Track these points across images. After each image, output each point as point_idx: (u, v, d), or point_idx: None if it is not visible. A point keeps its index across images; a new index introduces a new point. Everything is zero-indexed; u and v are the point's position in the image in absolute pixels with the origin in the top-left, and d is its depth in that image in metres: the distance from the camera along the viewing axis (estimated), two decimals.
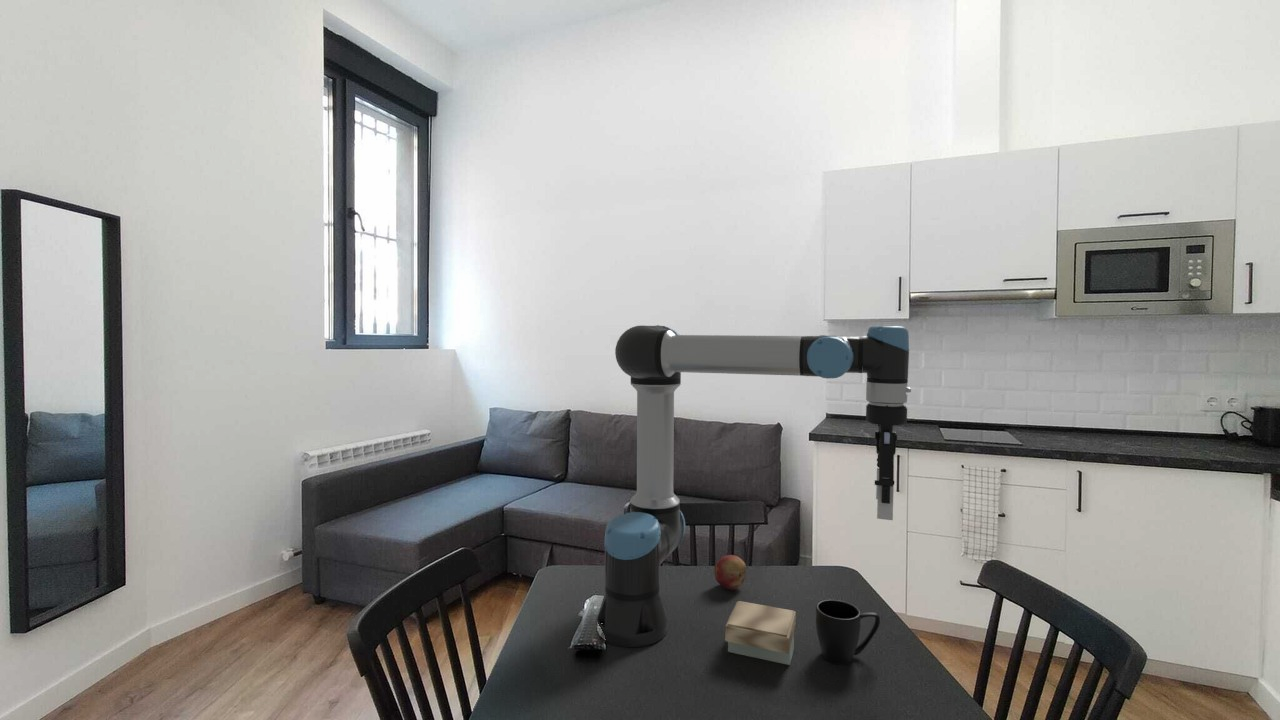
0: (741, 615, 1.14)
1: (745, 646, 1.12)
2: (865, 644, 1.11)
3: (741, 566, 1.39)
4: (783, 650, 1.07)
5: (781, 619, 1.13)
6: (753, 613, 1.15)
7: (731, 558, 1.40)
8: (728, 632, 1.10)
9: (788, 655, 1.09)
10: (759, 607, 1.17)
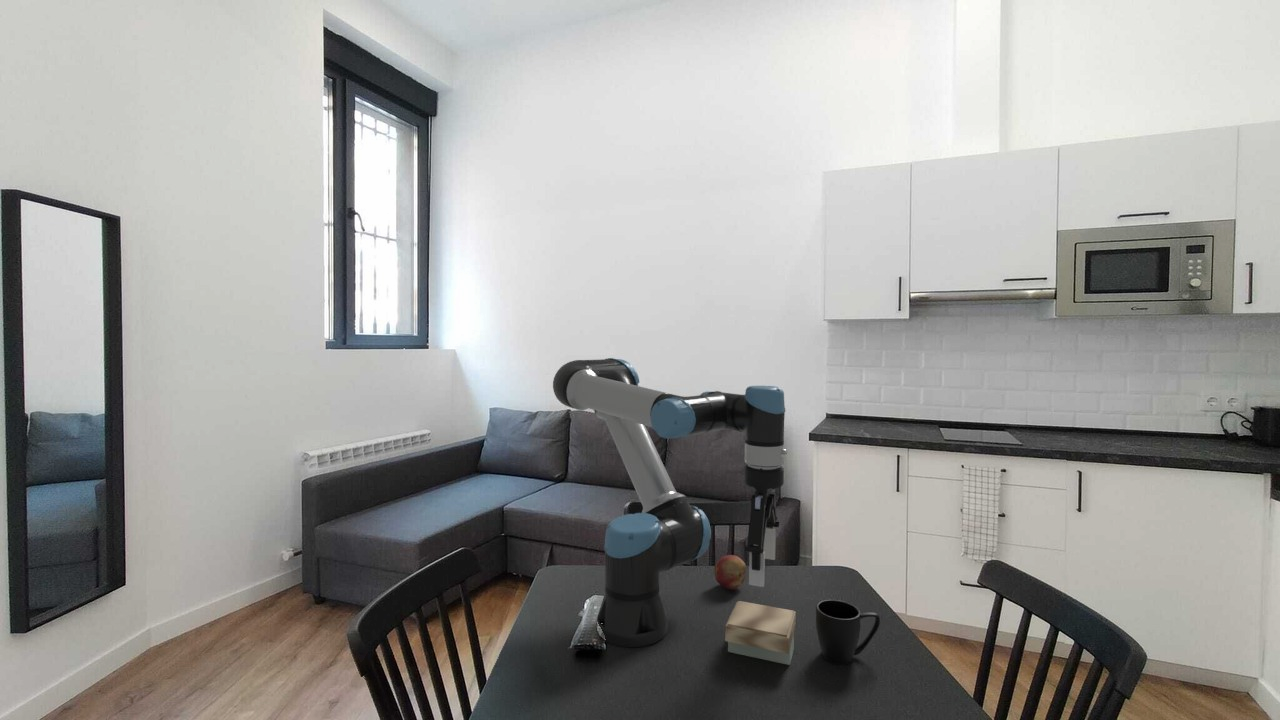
0: (741, 615, 1.14)
1: (745, 646, 1.12)
2: (865, 644, 1.11)
3: (741, 566, 1.39)
4: (783, 650, 1.07)
5: (781, 619, 1.13)
6: (753, 613, 1.15)
7: (731, 558, 1.40)
8: (728, 632, 1.10)
9: (788, 655, 1.09)
10: (759, 607, 1.17)
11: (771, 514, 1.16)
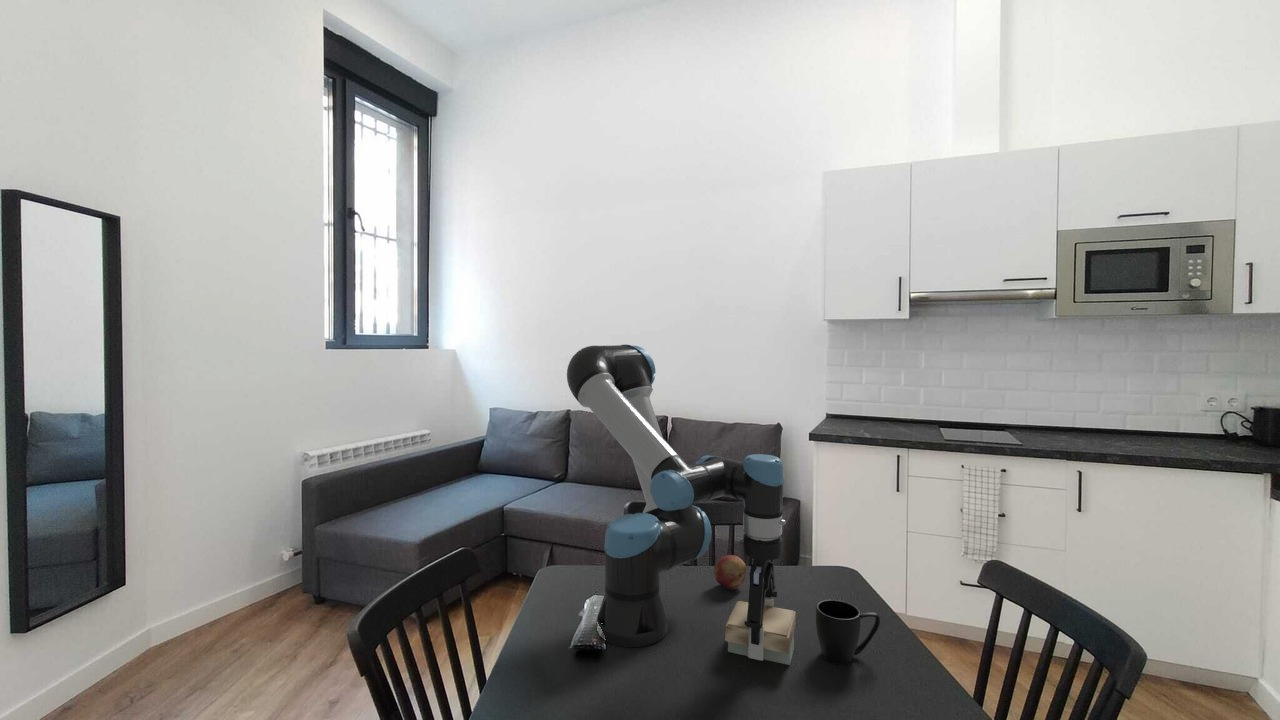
0: (741, 615, 1.14)
1: (745, 646, 1.12)
2: (865, 644, 1.11)
3: (741, 566, 1.39)
4: (783, 650, 1.07)
5: (781, 619, 1.13)
6: None
7: (731, 558, 1.40)
8: (728, 632, 1.10)
9: (788, 655, 1.09)
10: None
11: (769, 583, 1.17)
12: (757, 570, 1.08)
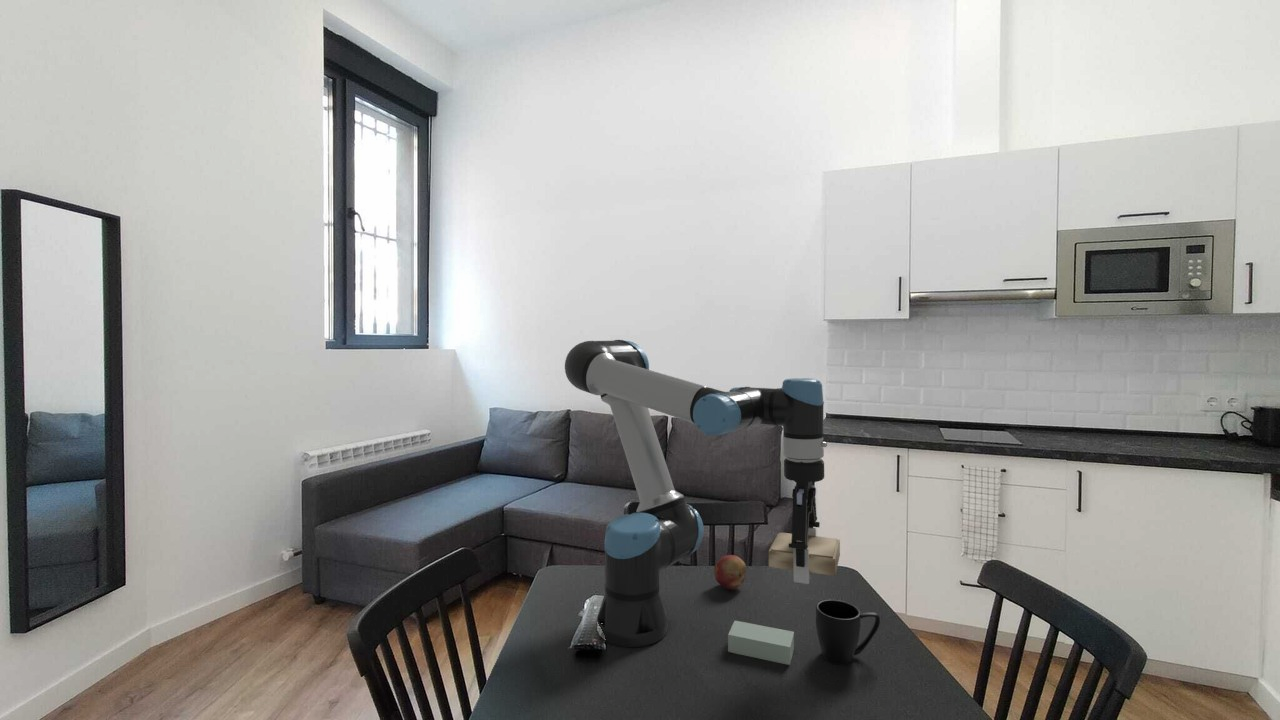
0: (784, 542, 1.12)
1: (745, 646, 1.12)
2: (865, 644, 1.11)
3: (741, 566, 1.39)
4: (829, 572, 1.04)
5: (826, 545, 1.10)
6: None
7: (731, 558, 1.40)
8: (771, 557, 1.08)
9: (788, 655, 1.09)
10: None
11: (811, 511, 1.14)
12: (800, 491, 1.06)
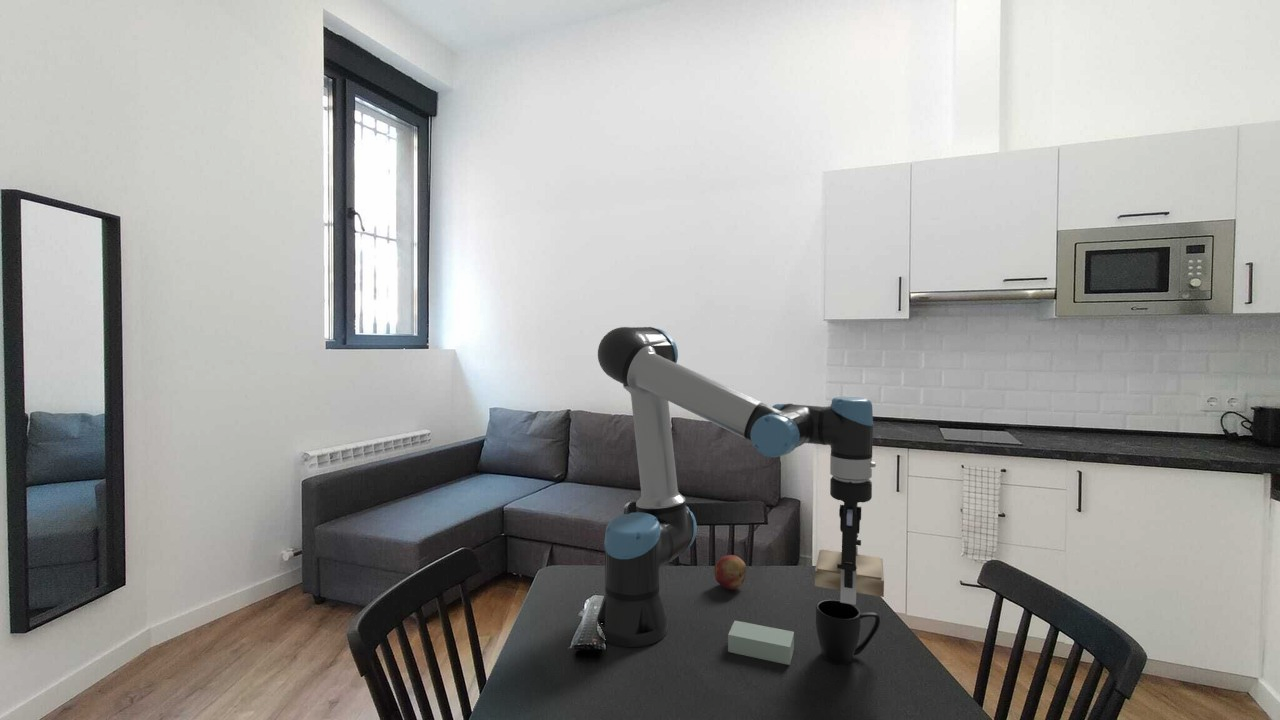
0: (828, 561, 1.11)
1: (745, 646, 1.12)
2: (865, 644, 1.11)
3: (741, 566, 1.39)
4: (878, 593, 1.04)
5: (871, 564, 1.10)
6: (840, 559, 1.12)
7: (731, 558, 1.40)
8: (817, 577, 1.08)
9: (788, 655, 1.09)
10: None
11: None
12: (849, 512, 1.06)
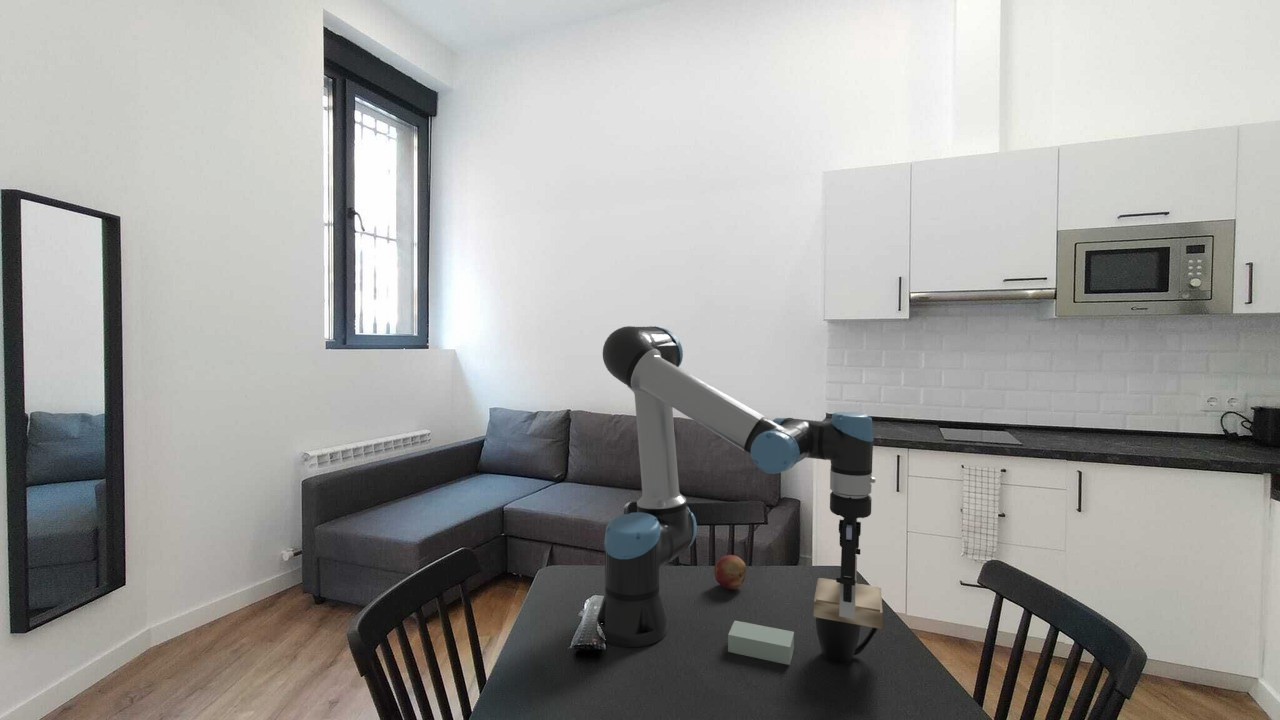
0: (827, 591, 1.12)
1: (745, 646, 1.12)
2: (865, 644, 1.11)
3: (741, 566, 1.39)
4: (876, 625, 1.04)
5: (869, 595, 1.10)
6: (839, 589, 1.12)
7: (731, 558, 1.40)
8: (816, 607, 1.08)
9: (788, 655, 1.09)
10: None
11: None
12: (848, 527, 1.06)
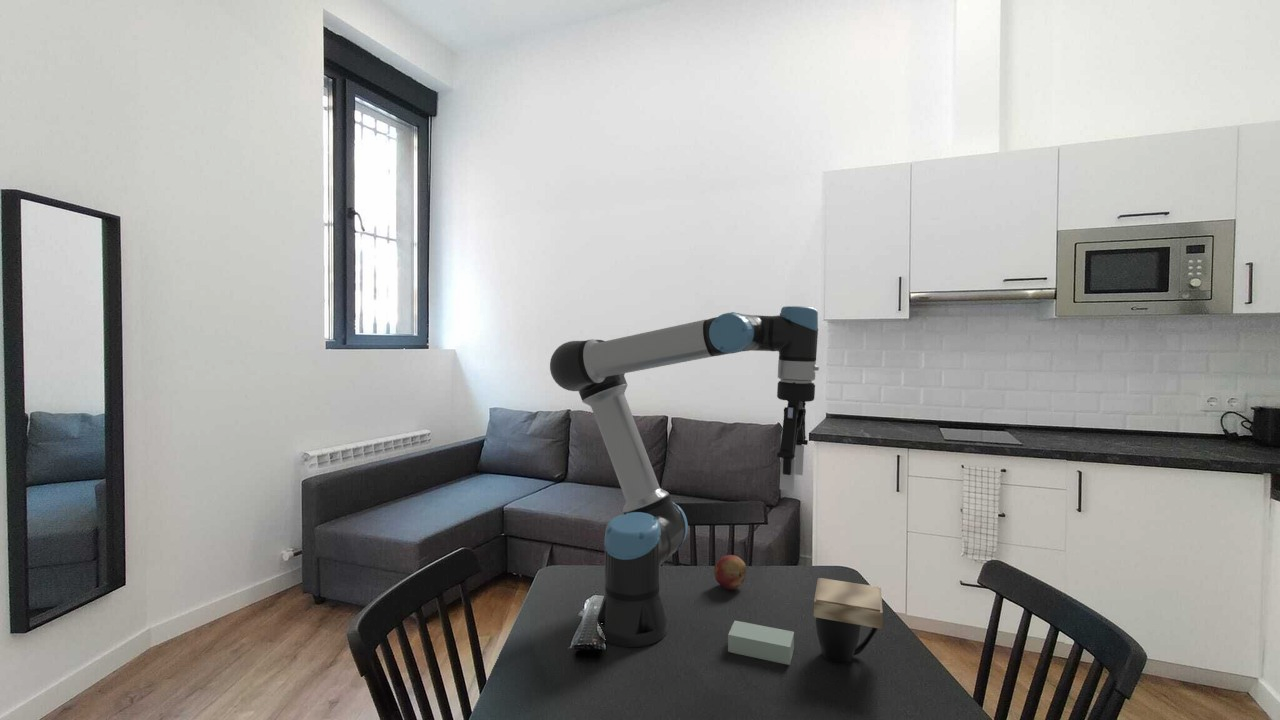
0: (827, 591, 1.12)
1: (745, 646, 1.12)
2: (865, 644, 1.11)
3: (741, 566, 1.39)
4: (876, 625, 1.04)
5: (869, 595, 1.10)
6: (839, 589, 1.12)
7: (731, 558, 1.40)
8: (816, 608, 1.08)
9: (788, 655, 1.09)
10: (843, 583, 1.15)
11: (801, 430, 1.23)
12: None
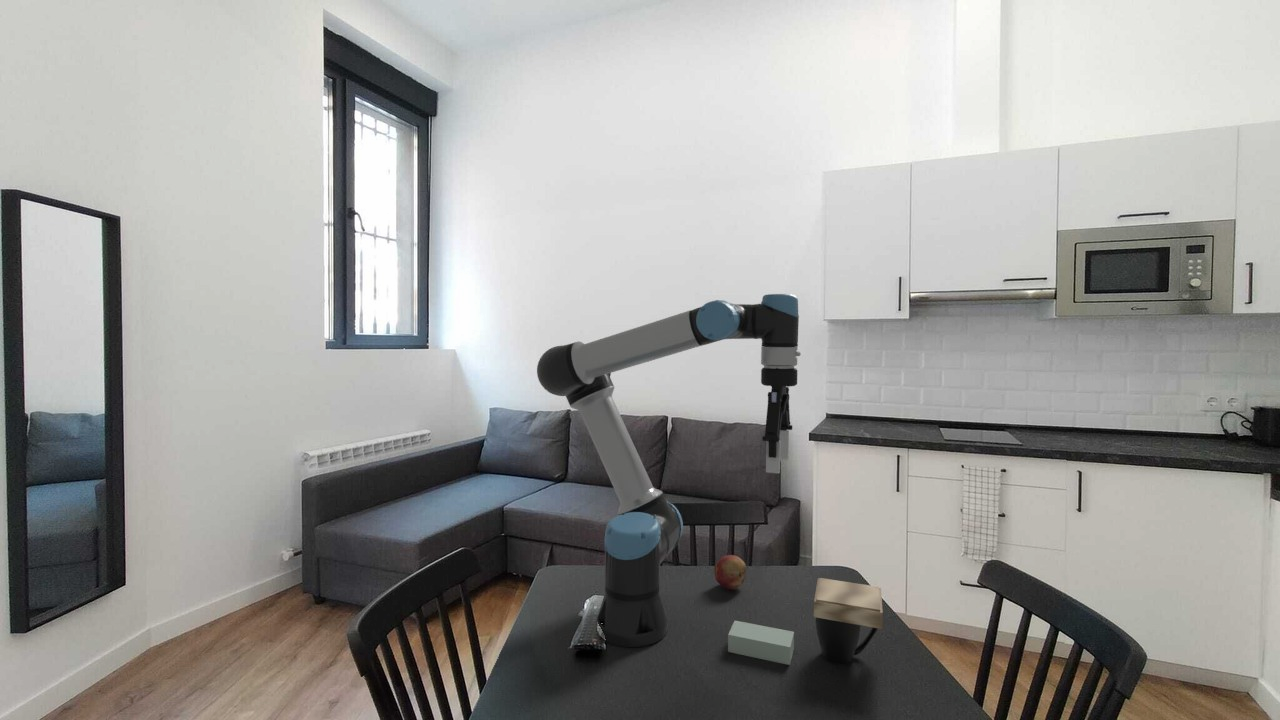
0: (827, 591, 1.12)
1: (745, 646, 1.12)
2: (865, 644, 1.11)
3: (741, 566, 1.39)
4: (876, 625, 1.04)
5: (869, 595, 1.10)
6: (839, 589, 1.12)
7: (731, 558, 1.40)
8: (816, 607, 1.08)
9: (788, 655, 1.09)
10: (843, 583, 1.15)
11: (785, 416, 1.26)
12: None
